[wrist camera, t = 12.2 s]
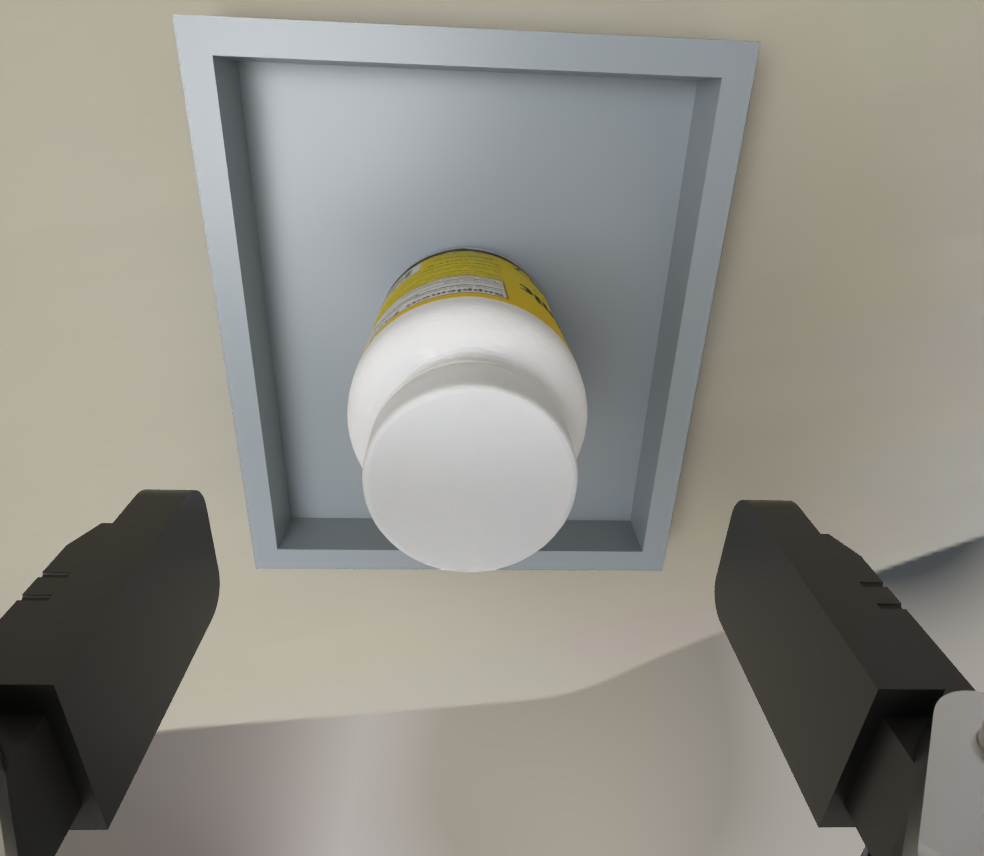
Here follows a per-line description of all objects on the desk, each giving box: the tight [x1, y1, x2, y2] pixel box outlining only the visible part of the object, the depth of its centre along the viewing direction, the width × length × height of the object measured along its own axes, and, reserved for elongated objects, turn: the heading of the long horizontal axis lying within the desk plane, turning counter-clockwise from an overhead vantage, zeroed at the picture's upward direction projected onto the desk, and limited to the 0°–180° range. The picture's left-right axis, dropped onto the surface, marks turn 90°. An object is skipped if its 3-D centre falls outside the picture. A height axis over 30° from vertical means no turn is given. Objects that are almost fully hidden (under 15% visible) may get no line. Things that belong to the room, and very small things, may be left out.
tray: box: [172, 14, 760, 571], centre depth 20 cm, size 16×14×2 cm
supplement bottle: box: [347, 247, 587, 572], centre depth 16 cm, size 5×5×10 cm
